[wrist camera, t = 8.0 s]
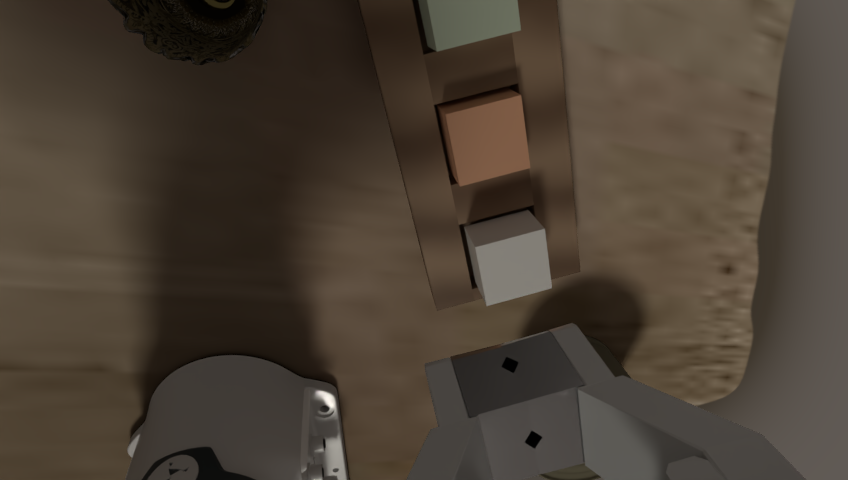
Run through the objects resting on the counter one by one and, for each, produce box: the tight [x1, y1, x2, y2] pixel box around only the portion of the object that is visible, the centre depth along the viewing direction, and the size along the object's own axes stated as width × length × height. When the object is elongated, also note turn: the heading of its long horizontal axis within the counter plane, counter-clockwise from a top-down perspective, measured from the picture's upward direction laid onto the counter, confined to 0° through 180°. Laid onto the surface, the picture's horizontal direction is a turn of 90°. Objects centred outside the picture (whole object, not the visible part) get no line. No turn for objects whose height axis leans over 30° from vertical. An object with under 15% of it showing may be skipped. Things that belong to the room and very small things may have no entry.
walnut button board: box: [358, 0, 580, 311], centre depth 36 cm, size 26×12×3 cm, turn 13°
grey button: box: [464, 210, 552, 306], centre depth 37 cm, size 5×5×4 cm
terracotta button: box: [436, 87, 530, 186], centre depth 35 cm, size 5×5×4 cm
